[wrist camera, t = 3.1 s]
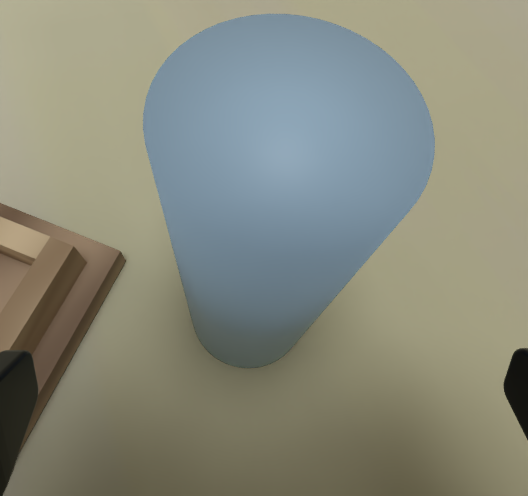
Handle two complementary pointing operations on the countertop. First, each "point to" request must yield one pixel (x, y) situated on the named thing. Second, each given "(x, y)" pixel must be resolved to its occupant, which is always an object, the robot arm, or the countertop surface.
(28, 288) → the cradle
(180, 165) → the tall blue cylinder
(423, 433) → the countertop surface
